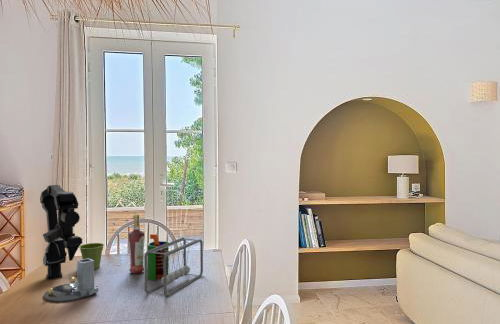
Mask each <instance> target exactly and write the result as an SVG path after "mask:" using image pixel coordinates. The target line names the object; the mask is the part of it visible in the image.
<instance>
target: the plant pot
mask: <svg viewBox="0 0 500 324" xmlns="http://www.w3.org/2000/svg"><path fill="white" fill-rule="evenodd" d="M104 246H105V243H102V242H89V243H85V244H81V245H80V246H79V248H78V249H79V250H80V253H81V256H82V259H81V260H83V259H87V258H89V259H92V260H94V270H96V269H98V268H100V266H101V260H102V255H103V254H102V252H103V249H104Z"/></svg>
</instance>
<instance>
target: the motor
mask: <svg viewBox="0 0 500 324" xmlns="http://www.w3.org/2000/svg"><path fill="white" fill-rule="evenodd" d="M149 239H151V240H153V241H151V242H148V243H147V251H149V250H151V249H154V248H156V247H159V246H162V245H164V244H167V243H169V241H167V240H159V236H158V234H157V233H150V234H149ZM169 249H170V246H169V247H166V248H164V249H161V252H160V250H159V251H156V253H166V250H168V251H170V250H169ZM168 251H167V252H168ZM156 253H149V254H148V256H147V280H150V281H154V282H155V281H156V280H160V281H161V279H162V277H164V274H163V264H162V261H163V259H164V256H165V255H164V254H156ZM161 255H162V258H161ZM167 257H168V259H167V258H166V273H167V275H168V274H169V268H168V269H167V266H168V267H169V265H168V263H169V262H168V260H169V257H170V256H169V255H168V256H167ZM167 275H166V276H167Z"/></svg>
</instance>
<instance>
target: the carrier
mask: <svg viewBox="0 0 500 324" xmlns="http://www.w3.org/2000/svg"><path fill="white" fill-rule="evenodd" d="M69 279H70V282H69V283H68V282H66V283H65V284H60V285H57V286H54V287H48V288H47V290H46V291H45V292H44V294H43V298H44V300H45V301H47V302H52V303H66V302H73V301H74V302H75V301H78V300H82V299H84V298H87V297H89V296H90V295H85V296H82V297H81V296H79V295H76V296H75V295H74V288H77V282H76V276H71V277H70V278H69Z"/></svg>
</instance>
